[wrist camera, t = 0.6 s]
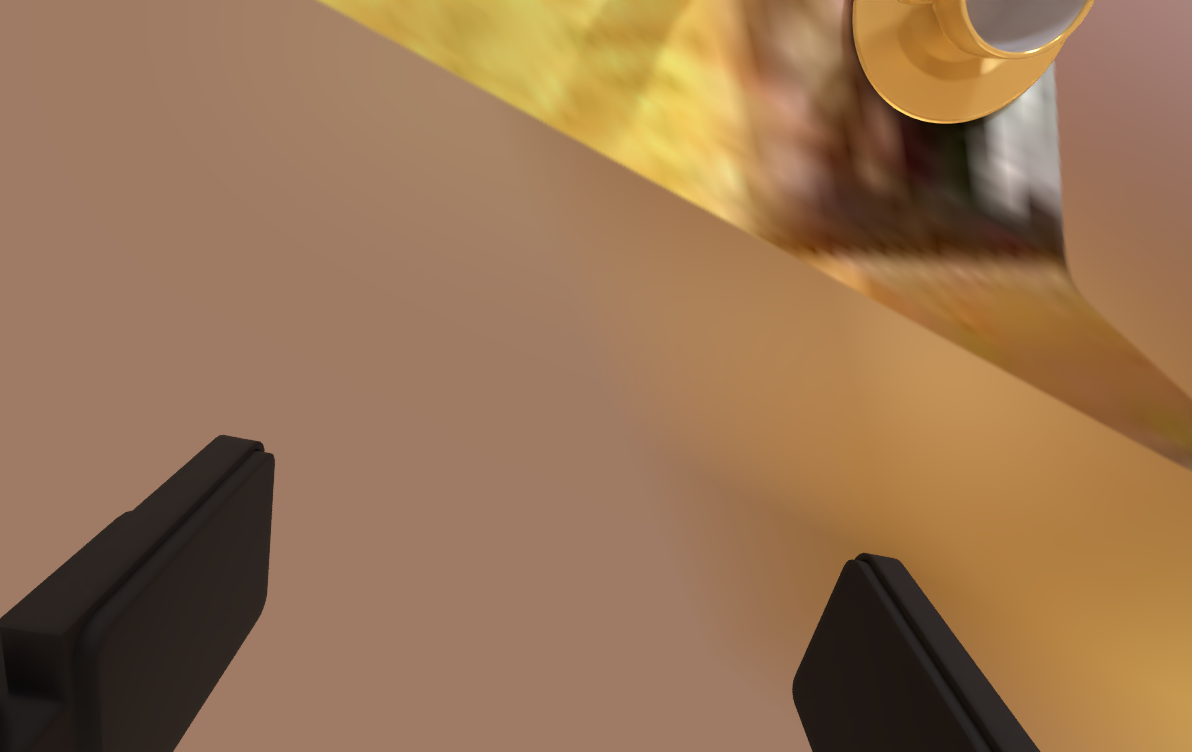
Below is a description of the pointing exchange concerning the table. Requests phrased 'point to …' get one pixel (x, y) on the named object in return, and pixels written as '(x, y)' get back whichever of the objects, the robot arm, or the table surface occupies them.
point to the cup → (959, 51)
